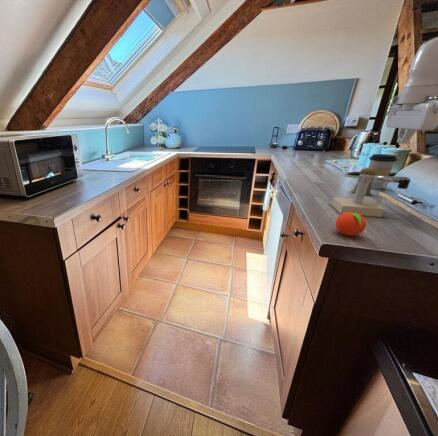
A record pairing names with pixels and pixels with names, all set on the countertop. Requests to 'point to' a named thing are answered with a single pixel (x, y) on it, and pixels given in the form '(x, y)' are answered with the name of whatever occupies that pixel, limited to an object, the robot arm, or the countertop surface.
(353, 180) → the countertop surface
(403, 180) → the spout
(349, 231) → the clementine
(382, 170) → the coffee cup
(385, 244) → the countertop surface
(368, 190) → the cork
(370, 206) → the base
